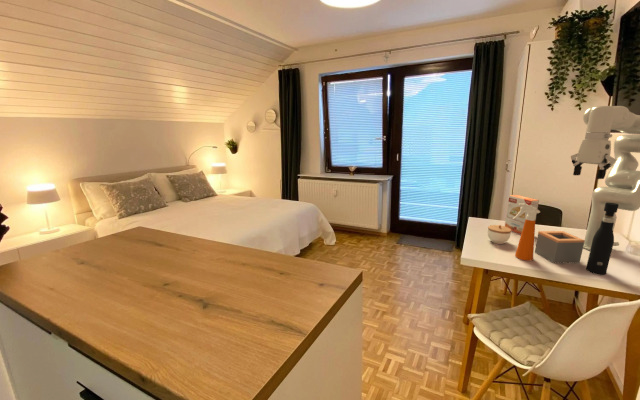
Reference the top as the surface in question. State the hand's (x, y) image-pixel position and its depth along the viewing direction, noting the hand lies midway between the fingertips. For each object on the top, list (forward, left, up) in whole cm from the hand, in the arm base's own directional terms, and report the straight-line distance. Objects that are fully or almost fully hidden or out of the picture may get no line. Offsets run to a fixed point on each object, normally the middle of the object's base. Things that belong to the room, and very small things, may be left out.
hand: (587, 176), depth 129 cm
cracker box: (0, -37, -39) cm, 54 cm away
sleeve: (+5, -2, -39) cm, 39 cm away
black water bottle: (-1, +12, -39) cm, 41 cm away
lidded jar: (+21, -22, -39) cm, 50 cm away
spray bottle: (+22, -3, -39) cm, 45 cm away
